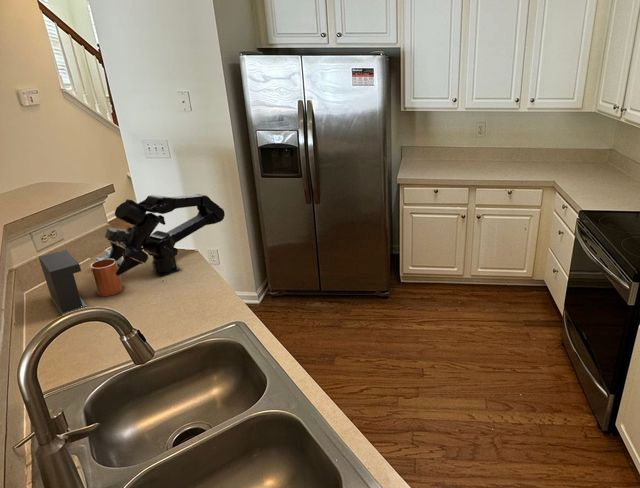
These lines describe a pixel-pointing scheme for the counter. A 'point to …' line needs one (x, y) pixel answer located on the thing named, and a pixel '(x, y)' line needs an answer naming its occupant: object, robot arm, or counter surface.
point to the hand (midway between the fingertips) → (112, 270)
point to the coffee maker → (62, 280)
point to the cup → (106, 277)
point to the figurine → (108, 257)
